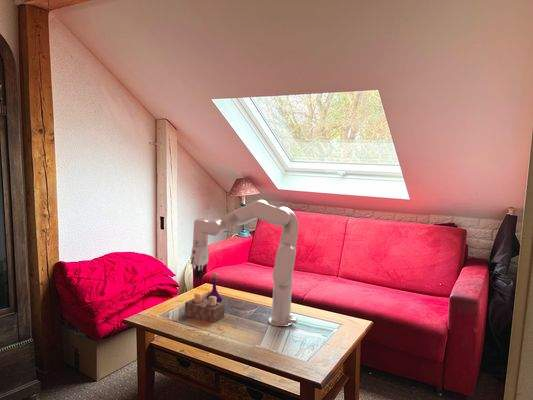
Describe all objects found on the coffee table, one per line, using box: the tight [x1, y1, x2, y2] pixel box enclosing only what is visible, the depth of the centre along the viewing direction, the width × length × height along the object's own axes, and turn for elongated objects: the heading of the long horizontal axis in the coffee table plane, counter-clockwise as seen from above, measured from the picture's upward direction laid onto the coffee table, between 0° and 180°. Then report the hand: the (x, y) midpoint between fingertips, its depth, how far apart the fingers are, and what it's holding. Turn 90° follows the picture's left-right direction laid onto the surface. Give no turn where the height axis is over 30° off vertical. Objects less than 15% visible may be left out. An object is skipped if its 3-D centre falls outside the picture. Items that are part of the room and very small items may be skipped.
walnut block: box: [184, 298, 226, 324], centre depth 211 cm, size 18×10×7 cm, turn 64°
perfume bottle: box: [205, 272, 223, 303], centre depth 229 cm, size 8×8×18 cm
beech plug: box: [208, 296, 217, 307], centre depth 208 cm, size 4×4×7 cm
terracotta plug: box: [193, 292, 203, 304], centre depth 212 cm, size 4×4×7 cm
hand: (198, 277), depth 211 cm, fingers closed
